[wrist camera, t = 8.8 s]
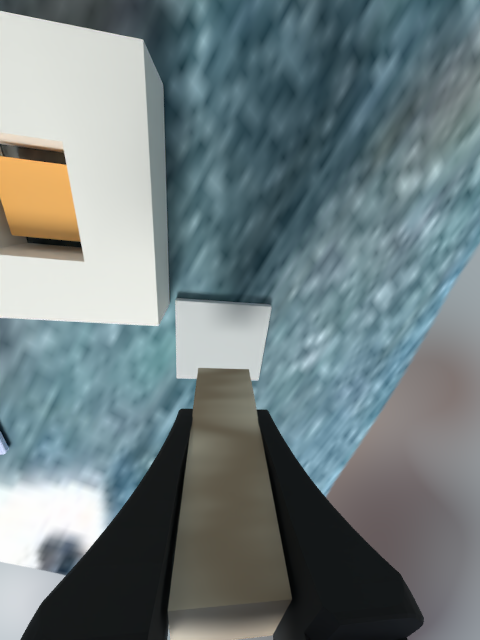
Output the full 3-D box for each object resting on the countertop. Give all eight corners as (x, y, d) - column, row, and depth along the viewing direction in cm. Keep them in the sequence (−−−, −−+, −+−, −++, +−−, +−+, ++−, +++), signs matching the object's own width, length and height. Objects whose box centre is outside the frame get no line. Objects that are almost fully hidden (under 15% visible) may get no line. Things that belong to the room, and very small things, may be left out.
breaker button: (35, 232, 14) (11, 235, 12) (17, 161, 12) (-13, 154, 11) (98, 238, 14) (83, 242, 13) (88, 170, 13) (69, 165, 11)
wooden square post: (197, 405, 15) (171, 647, 7) (198, 367, 13) (167, 611, 5) (243, 405, 15) (272, 635, 7) (248, 369, 14) (292, 598, 6)
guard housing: (-15, 292, 15) (-75, 313, 12) (-117, 34, 10) (-267, -43, 7) (169, 304, 17) (158, 326, 14) (163, 84, 12) (143, 39, 8)
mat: (177, 374, 20) (176, 378, 19) (176, 298, 17) (175, 300, 16) (257, 376, 20) (258, 380, 20) (270, 304, 17) (271, 306, 17)
